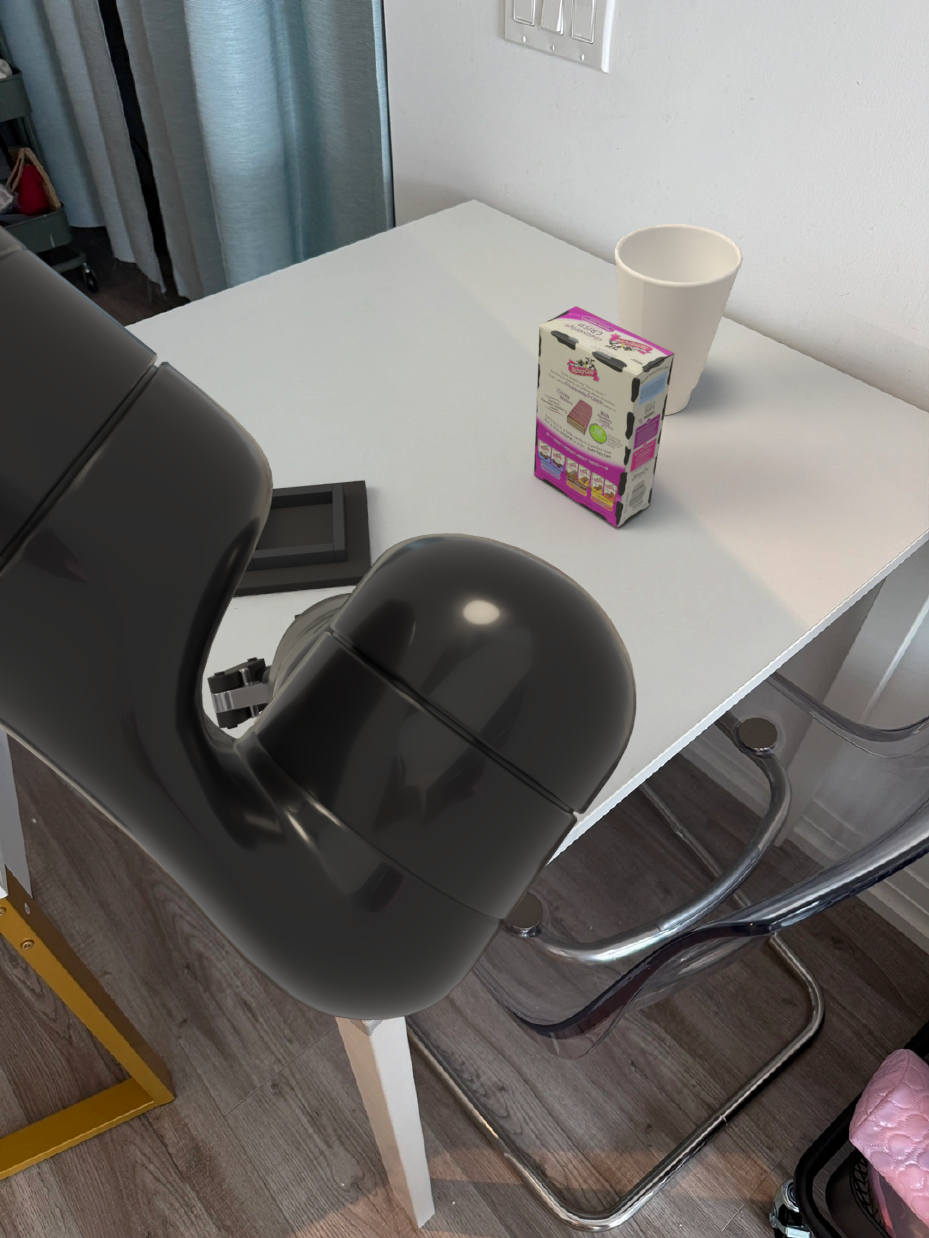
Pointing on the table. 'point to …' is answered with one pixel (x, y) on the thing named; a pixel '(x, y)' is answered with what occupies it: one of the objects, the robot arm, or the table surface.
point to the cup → (676, 295)
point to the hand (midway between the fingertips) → (343, 655)
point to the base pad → (311, 540)
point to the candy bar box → (599, 413)
